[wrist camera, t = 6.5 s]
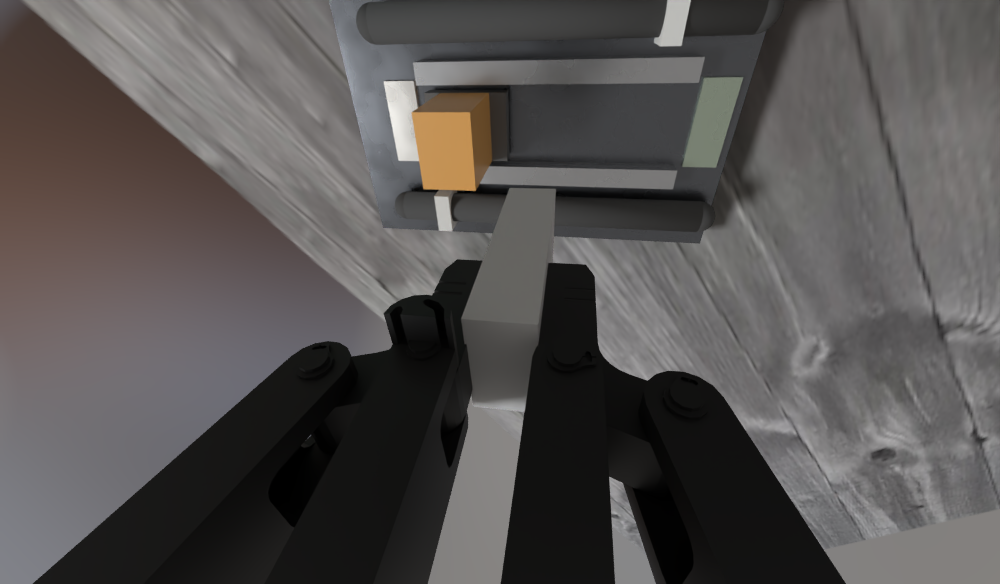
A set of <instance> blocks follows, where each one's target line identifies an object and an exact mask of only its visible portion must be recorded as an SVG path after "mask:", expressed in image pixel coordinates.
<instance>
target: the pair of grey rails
mask: <svg viewBox="0 0 1000 584" xmlns="http://www.w3.org/2000/svg"><path fill="white" fill-rule="evenodd" d="M783 6H784V0H403V1H380V2H368V3H365V4H363V5H362V6H361V7H360V8H359V10H358V12H357V15H356V25H357V28H358V31H359V33H360V34H361V36H362V37H363V38H364V39H365V40H366V41H368V42H369V43H371V44H374V45H392V44H430V43H467V42H505V41H543V40H581V39H618V38H655V39H654V43H655V44H657V45H659V46H681V45H682V41H683V37H694V36H731V35H755V34H759V33H762V32H764V31H766V30H768V29H769V28H770V27H771V26H772V25H773V24H774V23H775V22H776V21H777V20H778V18H779V17H780V15H781V13H782V10H783ZM506 196H507V195H501V194H472V193H457V190H438V192H413V191H406V192H402V193H401V194H399V195H398V196H397V198H396V200H395V209H396V211H397V213H398V214H399V215H400V216H401V217H403V218H405V219H416V220H438V227H439V231H453V229H454V227H455V226H456V224H457V222H458V221H460V222H482V223H497V221H498V218H499V215H500V213H501V210H502V207H503V205H504V202H505V199H506ZM714 219H715V212H714V209H713V208H712V206H711V205H709V204H708V203H706V202H702V201H678V200H649V199H619V198H590V197H560V196H556V197H555V220H554V226H570V227H592V228H614V229H636V230H658V231H680V232H701V231H704V230H706V229H708V228H709V227H710V226H711V225H712V223H713V222H714Z"/></svg>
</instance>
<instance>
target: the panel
mask: <svg viewBox="0 0 1000 584" xmlns="http://www.w3.org/2000/svg"><path fill="white" fill-rule="evenodd" d="M380 1H403V0H329V3H330V7H331V11H332V15H333V19H334V24H335V28H336V32H337V36H338V40H339V45H340V49H341V53H342V57H343V61H344V66H345V70H346V74H347V78H348V82H349V87H350V91H351V95H352V99H353V103H354V108H355V112H356V116H357V120H358V124H359V129H360V133H361V137H362V141H363V145H364V150H365V154H366V158H367V162H368V166H369V170H370V175H371V179H372V183H373V187H374V191H375V196H376V200H377V204H378V208H379V212H380V217H381V221H382V225H383V228H399V229H419V230H439V227H438V220H416V219H405V218H403V217H401V216H400V215H399V214H398V213H397V211H396V209H395V200H396V198H397V196H398V195H399V194H401V193H402V192H406V191H413V192H438V190H435V189H423V182H422V176H421V170H420V163H419V157H418V151H417V144H416V138H415V132H414V125H413V119H412V113H411V112H413V111H414V110H416V109H417V108H419V107H420V106H422V105H423V104H425V96H424V93H425V92H427V91H428V90H505V89H508V99H509V151H510V156H509V159H508V161H492V162H491V164H490V166H489V168H488V169H487V171H486V173H485V175H484V177H483V179H482V180H481V182H480V184H479V186H478V188H477V190H476V191H465V190H457V193H472V194H501V195H507V194H508V191H509V188H540V189H556V196H560V197H590V198H619V199H649V200H678V201H702V202H706V203H708V204H709V205H711V206H712V202H713V199H714V196H715V193H716V190H717V187H718V183H719V180H720V177H721V174H722V171H723V167H724V164H725V161H726V158H727V155H728V151H729V148H730V145H731V142H732V139H733V135H734V132H735V129H736V126H737V123H738V119H739V116H740V113H741V110H742V107H743V104H744V100H745V97H746V94H747V91H748V88H749V84H750V81H751V78H752V75H753V72H754V68H755V65H756V62H757V59H758V56H759V52H760V49H761V46H762V43H763V40H764V36H765V33H766V31H764V32H762V33H759V34H755V35H731V36H694V37H683V41H682V45H681V46H659V45H657V44H655V43H654V39H655V38H618V39H581V40H543V41H505V42H467V43H430V44H392V45H374V44H371V43H369V42H368V41H366V40H365V39H364V38H363V37H362V36H361V34H360V33H359V31H358V28H357V25H356V15H357V12H358V10H359V8H360V7H361V6H362V5H363V4H365V3H368V2H380ZM495 226H496V223H482V222H460V221H458V222H457V224H456V226H455V227H454V229H453V231H460V232H480V233H493V232H494V229H495ZM702 234H703V231H701V232H680V231H658V230H636V229H614V228H592V227H570V226H554V236H561V237H581V238H602V239H622V240H642V241H662V242H683V243H700V241H701V238H702Z"/></svg>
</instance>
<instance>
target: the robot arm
mask: <svg viewBox="0 0 1000 584" xmlns="http://www.w3.org/2000/svg"><path fill="white" fill-rule="evenodd" d="M555 197H556V189H540V188H509V191H508V194H507V196H506V199H505V202H504V205H503V207H502V210H501V213H500V215H499V218H498V221H497V223H496V226H495V229H494V232H493V234H492V237H491V240H490V242H489V245H488V248H487V250H486V253H485V256H484V258H483V261H477V260H458V259H457V260H456V261H455V262H454V263H452V264H451V265H450V266H449V267H447V268H446V269H445V271H444V273H443V275H442V277H441V279H440V281H439V283H438V285H437V287H436V289H435V292H434V293H433V295H432V296H431V295H415V296H411V297H408V298H404V299H401V300H400V301H398V302H396V303H395V304H393V305H391V306H390V307H389V308H388V309H387V310H386V312H385V313H384V316H385V320H386V323H387V326H388V330H389V333H390V336H391V340H392V343H393V345H392V347H391V349H389V350H386V351H382V352H378V353H372V354H365V355H360V356H353V357H351V354H350V352H349V350H348V348H347V347H346V346H344V345H342V344H341V343H337V342H329V341H327V342H321V343H315V344H313V345H310V346H308V347H305V348H303V349H301V350H300V351H299V352H297V353H296V354H294V355H292V356H291V357H290V358H289V359H288V360H286V361H285V362H284V363H283V364H282V365H281V366H280V367H279V368H277V369H276V370H275V371H274V372H273V373H272V374H271V375H269V376H268V377H267V378H266V379H265V380H264V381H263V382H262V383H260V384H259V385H258V386H257V387H256V388H255V389H253V390H252V391H251V392H250V393H249V394H248V395H247V396H246V397H244V398H243V399H242V400H241V401H240V402H239V403H238V404H236V405H235V406H234V407H233V408H232V409H231V410H230V411H228V412H227V413H226V414H225V415H224V416H223V417H222V418H221V419H219V420H218V421H217V422H216V423H215V424H214V425H213V426H211V428H209V429H208V430H207V431H206V432H205V433H203V435H201V436H200V437H199V438H198V439H197V440H196V441H194V442H193V443H192V444H191V445H190V446H189V447H188V448H187V449H186V450H184V451H183V452H182V453H181V454H180V455H179V456H177V457H176V458H175V459H174V460H173V461H172V462H171V463H170V464H168V465H167V466H166V467H165V468H164V469H163V470H162V471H160V472H159V473H158V474H157V475H156V476H155V477H154V478H152V479H151V480H150V481H149V482H148V483H147V484H146V485H145V486H143V487H142V488H141V489H140V490H139V491H138V492H136V493H135V494H134V495H133V496H132V497H131V498H130V499H128V500H127V501H126V502H125V503H124V504H123V505H122V506H121V507H119V508H118V509H117V510H116V511H115V512H114V513H113V514H111V515H110V516H109V517H108V518H107V519H106V520H105V521H103V522H102V523H101V524H100V525H99V526H98V527H97V528H96V529H94V531H92V532H91V533H90V534H89V535H88V536H87V537H85V538H84V539H83V540H82V541H81V542H80V543H78V544H77V545H76V546H75V547H74V548H73V549H72V550H71V551H70V552H68V553H67V554H66V555H65V556H64V557H63V558H62V559H60V560H59V561H58V562H57V563H56V564H55V565H54V566H52V567H51V568H50V569H49V570H48V571H47V572H46V573H45V574H43V575H42V576H41V577H40V578H39V579H38V580H36V581H35V582H34V583H33V584H428V580H429V576H430V572H431V568H432V564H433V561H434V557H435V553H436V549H437V545H438V541H439V538H440V533H441V530H442V525H443V522H444V518H445V514H446V510H447V506H448V502H449V499H450V495H451V491H452V487H453V483H454V479H455V476H456V472H457V468H458V464H459V460H460V456H461V452H462V448H463V445H464V440H465V437H466V433H467V429H468V414H467V408H468V404H469V400H470V397H471V394H472V401H473V406H476V407H485V408H494V409H503V410H511V411H520V412H525V413H524V420H523V427H522V434H521V442H520V449H519V456H518V463H517V471H516V478H515V485H514V493H513V499H512V507H511V514H510V522H509V528H508V536H507V543H506V550H505V557H504V564H503V572H502V579H501V584H615V575H614V559H613V558H614V557H613V539H612V521H611V503H610V485H609V477H612V478H614V479H616V480H618V481H620V482H622V483H623V485H624V488H625V491H626V494H627V497H628V500H629V503H630V506H631V509H632V512H633V515H634V518H635V521H636V524H637V527H638V530H639V533H640V536H641V539H642V542H643V546H644V549H645V552H646V555H647V558H648V561H649V564H650V567H651V570H652V573H653V576H654V579H655V582H656V584H846V583H845V582H844V580H843V579H842V577H841V576H840V574H839V573H838V571H837V569H836V568H835V567H834V565H833V563H832V562H831V560H830V559H829V557H828V556H827V554H826V553H825V551H824V550H823V548H822V547H821V545H820V544H819V542H818V540H817V539H816V537H815V536H814V534H813V533H812V531H811V530H810V528H809V527H808V525H807V524H806V522H805V521H804V519H803V518H802V516H801V515H800V513H799V511H798V510H797V508H796V507H795V505H794V504H793V502H792V501H791V499H790V498H789V496H788V495H787V493H786V492H785V490H784V489H783V487H782V486H781V484H780V483H779V481H778V479H777V478H776V476H775V475H774V473H773V472H772V470H771V469H770V467H769V466H768V464H767V463H766V461H765V460H764V458H763V457H762V455H761V454H760V452H759V450H758V449H757V447H756V446H755V444H754V443H753V441H752V440H751V438H750V437H749V435H748V434H747V432H746V431H745V429H744V428H743V426H742V425H741V423H740V422H739V420H738V418H737V417H736V415H735V414H734V412H733V411H732V409H731V408H730V406H729V405H728V403H727V402H726V400H725V399H724V397H723V396H722V395H721V394H720V393H719V392H718V391H717V390H716V388H715V387H714V386H713V385H711V384H709V383H708V382H706V381H705V380H703V379H701V378H700V377H698V376H695V375H692V374H689V373H686V372H679V371H666V372H662V373H659V374H656V375H654V376H653V377H652V378H651V379H649V380H648V381H646V380H644V379H641V378H638V377H635V376H632V375H629V374H627V373H625V372H622V371H620V370H618V369H617V368H615V367H614V366H612V365H611V364H610V363H609V362H608V361H607V360H606V359H605V358H604V357H603V355H602V354H601V352H600V350H599V346H598V339H597V318H596V303H595V301H596V297H595V277H594V275H593V274H592V272H591V271H590V270H589V268H588V267H587V266H586V265H581V264H561V263H553V243H554V220H555ZM310 435H311V436H310ZM309 436H310V437H309ZM308 437H309V438H308ZM307 438H308V439H307ZM306 439H307V440H306Z"/></svg>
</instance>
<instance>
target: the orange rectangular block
mask: <svg viewBox="0 0 1000 584" xmlns="http://www.w3.org/2000/svg"><path fill="white" fill-rule="evenodd" d="M424 96H425V104H423V105H422V106H420V107H419V108H417V109H416V110H414V111H413V112H411V113H412V119H413V125H414V132H415V138H416V144H417V151H418V157H419V163H420V170H421V176H422V182H423V189H435V190H465V191H476V190H477V188H478V186H479V184H480V182H481V180H482V179H483V177H484V175H485V173H486V171H487V169H488V168H489V166H490V164H491V162H492V161H508V159H509V156H510V151H509V99H508V89H505V90H428V91H427V92H425V93H424Z"/></svg>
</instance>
